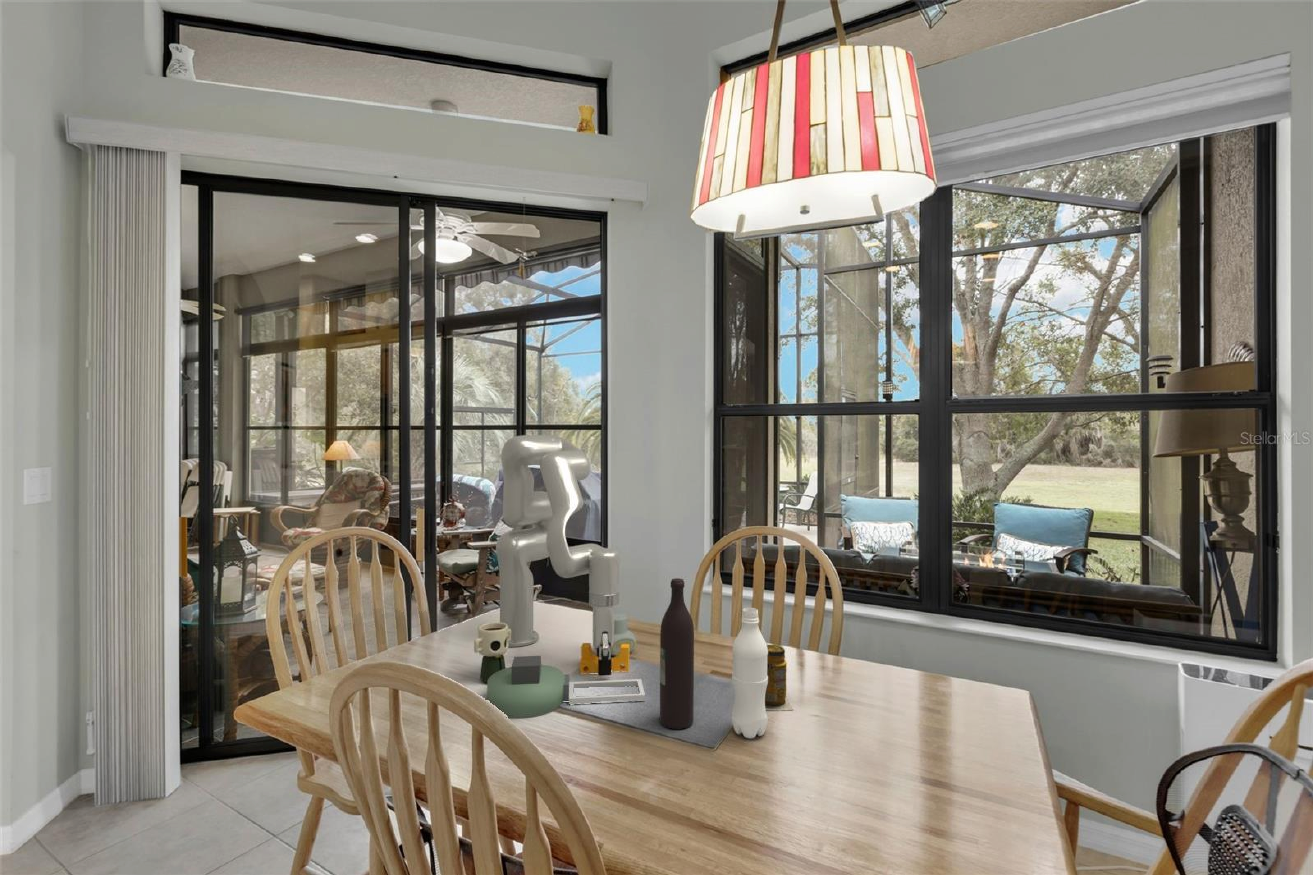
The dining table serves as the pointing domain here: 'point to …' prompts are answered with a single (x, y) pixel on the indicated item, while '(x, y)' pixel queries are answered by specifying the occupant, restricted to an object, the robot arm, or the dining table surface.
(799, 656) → the dining table surface
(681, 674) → the wine bottle
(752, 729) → the water bottle
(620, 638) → the air freshener
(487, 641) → the character mug
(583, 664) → the pipe clamp
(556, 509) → the robot arm
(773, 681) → the condiment
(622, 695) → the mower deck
